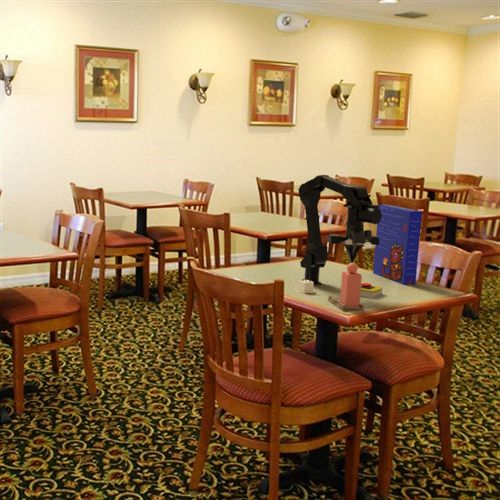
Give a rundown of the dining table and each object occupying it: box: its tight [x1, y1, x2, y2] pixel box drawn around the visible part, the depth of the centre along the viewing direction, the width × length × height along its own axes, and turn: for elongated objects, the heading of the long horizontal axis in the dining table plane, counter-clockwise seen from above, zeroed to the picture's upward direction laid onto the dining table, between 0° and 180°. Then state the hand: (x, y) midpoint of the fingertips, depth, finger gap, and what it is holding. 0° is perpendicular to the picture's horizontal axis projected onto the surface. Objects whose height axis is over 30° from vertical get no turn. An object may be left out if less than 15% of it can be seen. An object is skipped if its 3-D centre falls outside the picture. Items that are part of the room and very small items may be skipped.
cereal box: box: [372, 204, 423, 286], centre depth 278 cm, size 22×6×30 cm, turn 23°
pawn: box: [339, 262, 363, 307], centre depth 227 cm, size 5×5×15 cm
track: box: [327, 295, 365, 312], centre depth 232 cm, size 14×8×2 cm, turn 15°
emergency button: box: [360, 282, 386, 300], centre depth 251 cm, size 9×4×15 cm
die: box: [297, 279, 315, 294], centre depth 249 cm, size 4×4×4 cm
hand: (351, 262), depth 247 cm, fingers closed
